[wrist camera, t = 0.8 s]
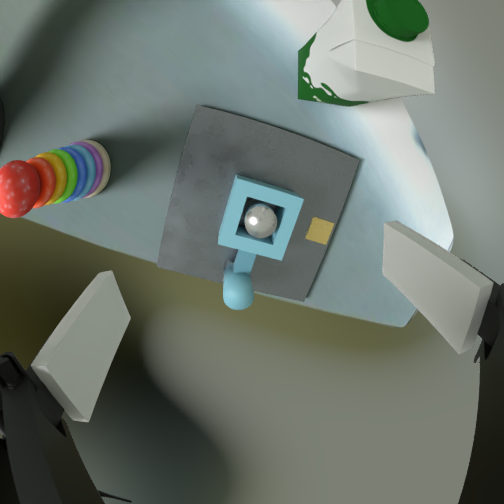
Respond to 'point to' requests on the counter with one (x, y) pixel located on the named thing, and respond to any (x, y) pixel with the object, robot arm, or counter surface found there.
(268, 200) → the blue handled square frame
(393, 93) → the milk carton
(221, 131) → the post plate
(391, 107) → the counter surface
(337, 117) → the counter surface
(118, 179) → the counter surface
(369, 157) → the counter surface
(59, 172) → the stacking toy
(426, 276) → the robot arm
